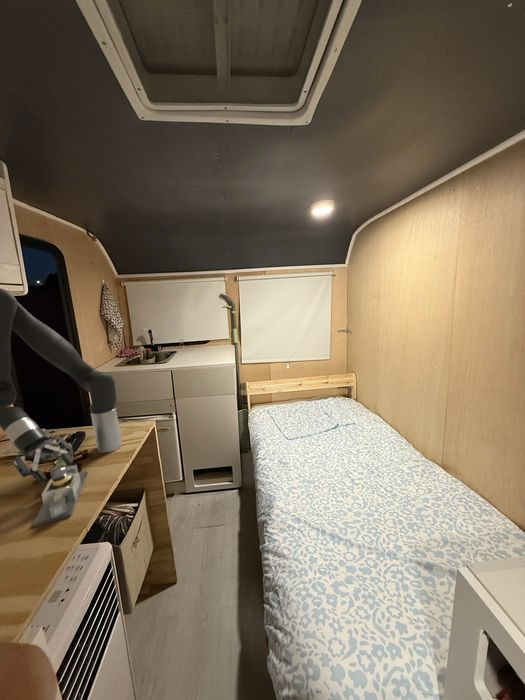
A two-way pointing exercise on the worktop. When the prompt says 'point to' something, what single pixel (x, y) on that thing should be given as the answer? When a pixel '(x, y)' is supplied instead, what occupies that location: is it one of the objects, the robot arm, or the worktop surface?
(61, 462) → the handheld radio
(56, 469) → the grey cylinder with band
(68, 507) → the base
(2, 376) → the robot arm
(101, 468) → the worktop surface
